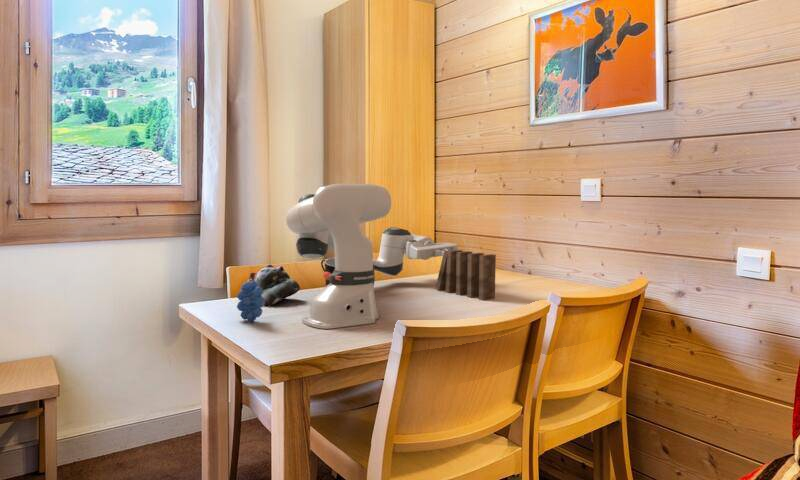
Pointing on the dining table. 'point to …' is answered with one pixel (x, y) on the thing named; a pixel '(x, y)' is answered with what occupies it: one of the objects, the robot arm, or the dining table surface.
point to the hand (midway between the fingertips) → (447, 254)
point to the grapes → (250, 301)
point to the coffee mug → (328, 267)
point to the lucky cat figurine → (274, 284)
